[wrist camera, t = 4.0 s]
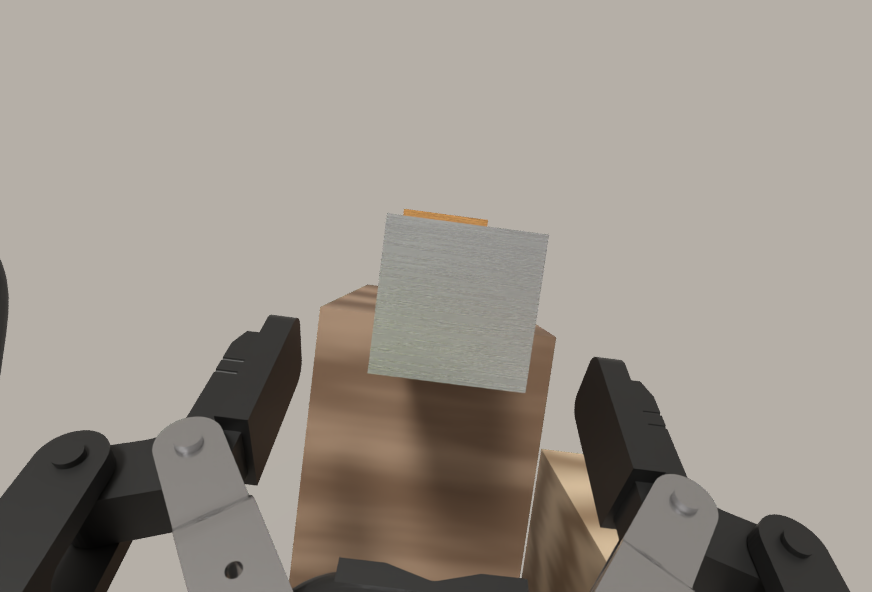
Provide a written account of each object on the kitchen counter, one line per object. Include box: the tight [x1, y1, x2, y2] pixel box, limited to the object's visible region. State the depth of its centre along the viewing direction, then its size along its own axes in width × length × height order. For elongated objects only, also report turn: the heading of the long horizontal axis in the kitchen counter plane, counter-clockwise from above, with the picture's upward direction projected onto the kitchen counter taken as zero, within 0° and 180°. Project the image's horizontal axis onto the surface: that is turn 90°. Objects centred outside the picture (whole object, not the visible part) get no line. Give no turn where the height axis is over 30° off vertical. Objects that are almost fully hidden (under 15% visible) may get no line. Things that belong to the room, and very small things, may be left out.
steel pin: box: [368, 209, 549, 393], centre depth 24 cm, size 26×6×6 cm, turn 1°
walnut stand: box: [289, 285, 556, 588], centre depth 30 cm, size 16×10×32 cm, turn 1°
